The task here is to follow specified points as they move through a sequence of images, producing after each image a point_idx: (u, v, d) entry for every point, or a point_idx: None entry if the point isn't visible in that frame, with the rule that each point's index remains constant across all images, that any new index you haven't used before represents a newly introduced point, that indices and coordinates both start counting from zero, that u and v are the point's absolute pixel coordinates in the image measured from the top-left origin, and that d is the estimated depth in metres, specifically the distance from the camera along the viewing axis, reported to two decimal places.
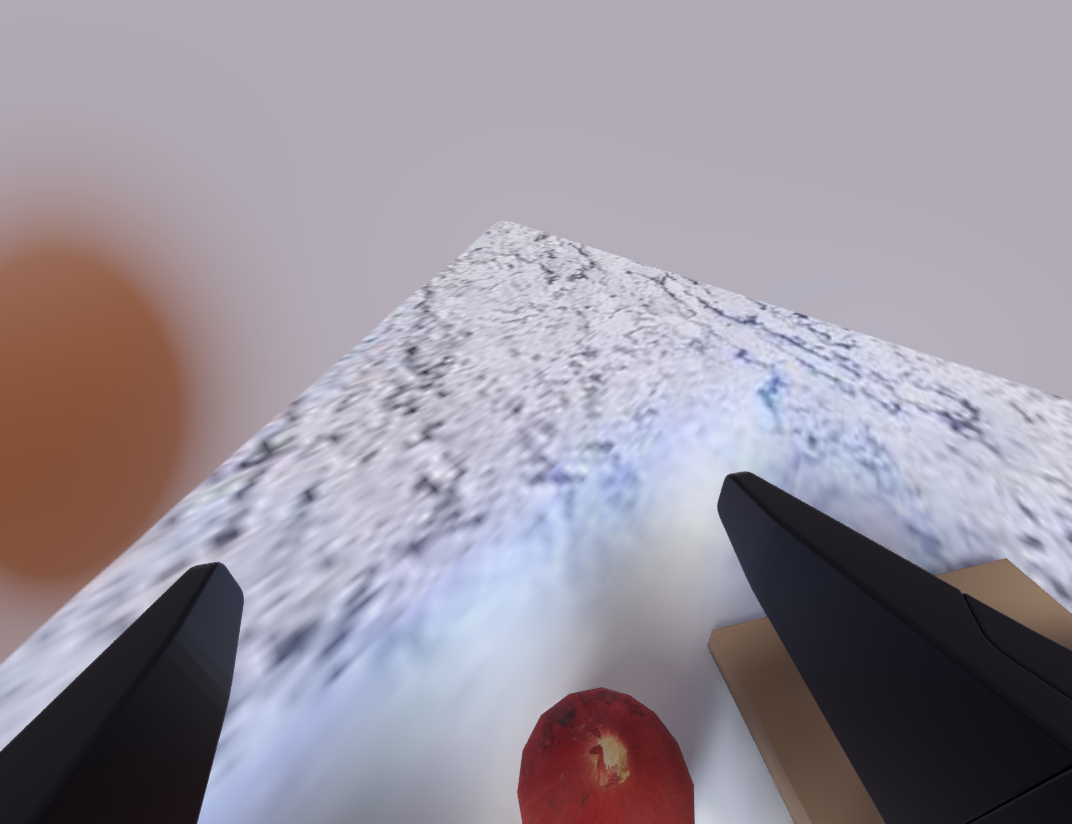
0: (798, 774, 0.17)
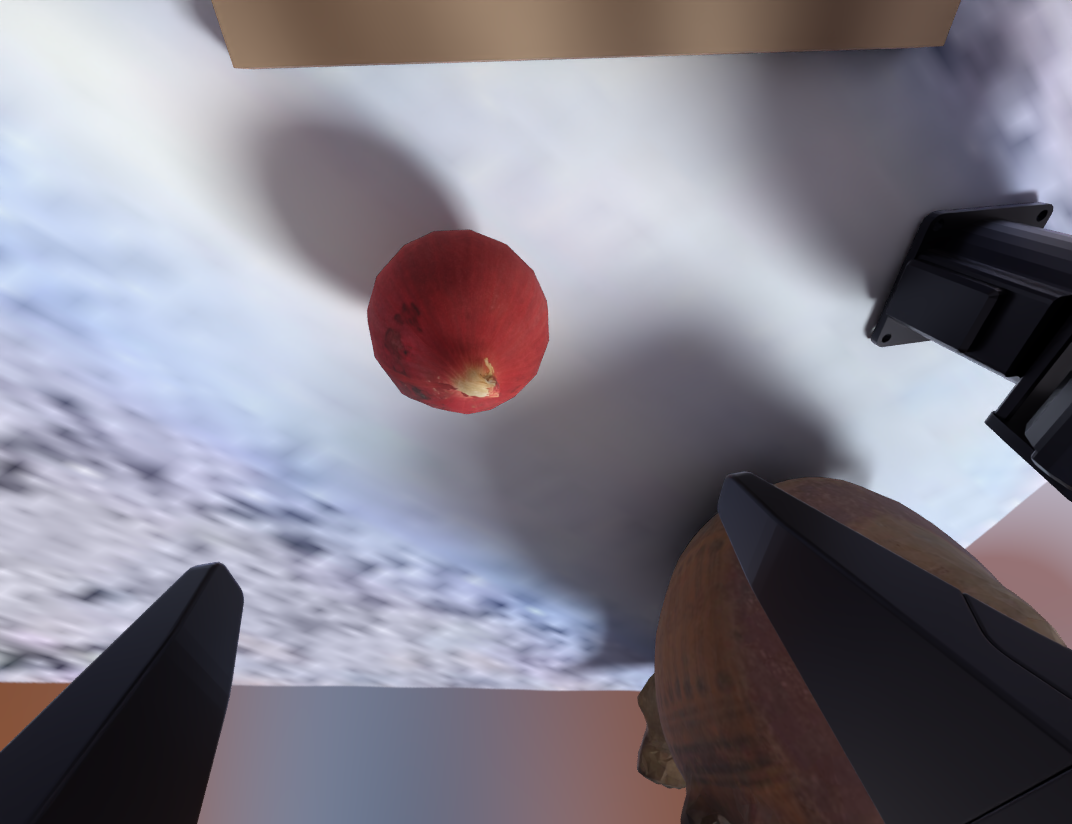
0: (446, 42, 0.13)
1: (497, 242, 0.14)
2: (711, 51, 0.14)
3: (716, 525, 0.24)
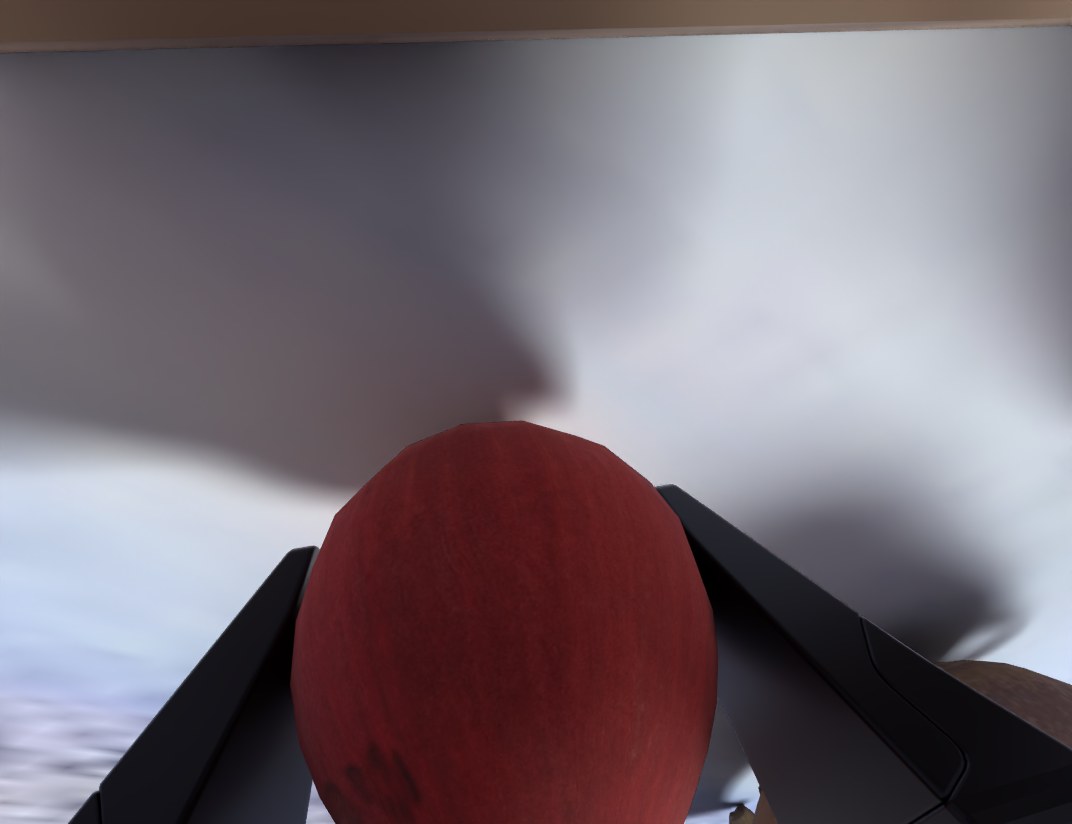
0: None
1: (609, 479, 0.06)
2: None
3: None
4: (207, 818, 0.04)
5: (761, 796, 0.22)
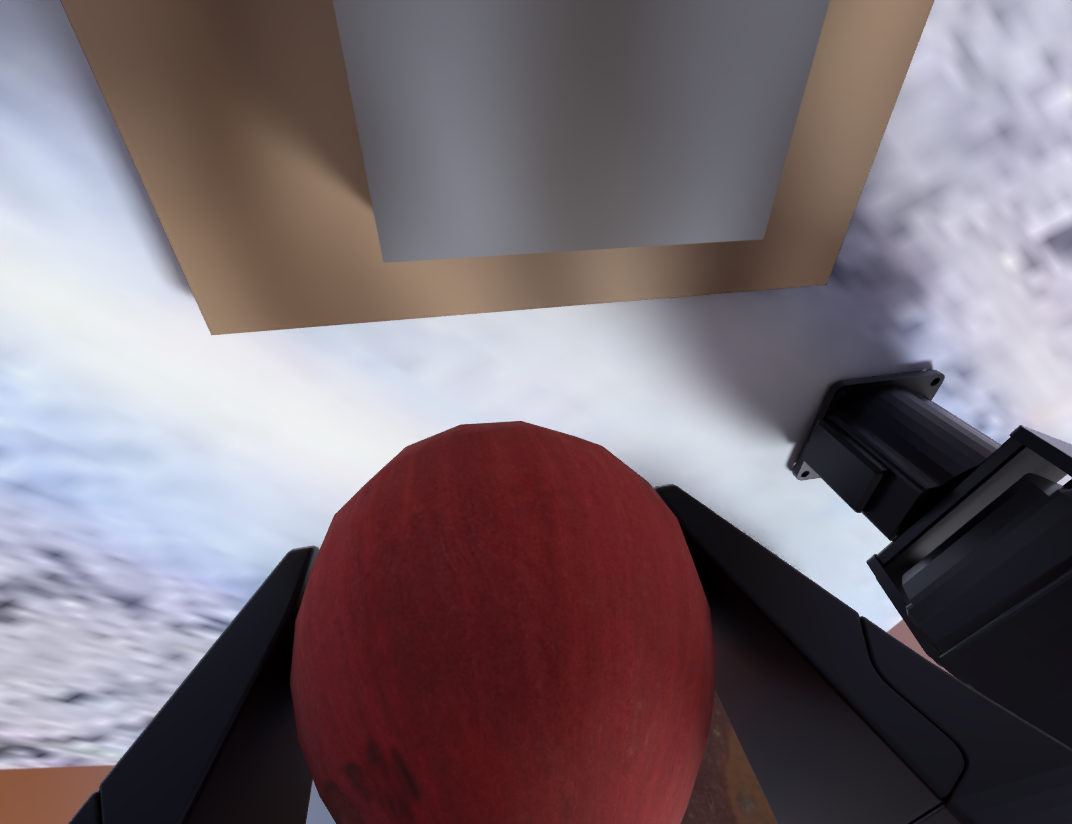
0: (395, 308, 0.15)
1: (607, 479, 0.06)
2: (624, 300, 0.17)
3: None
4: (207, 818, 0.04)
5: None
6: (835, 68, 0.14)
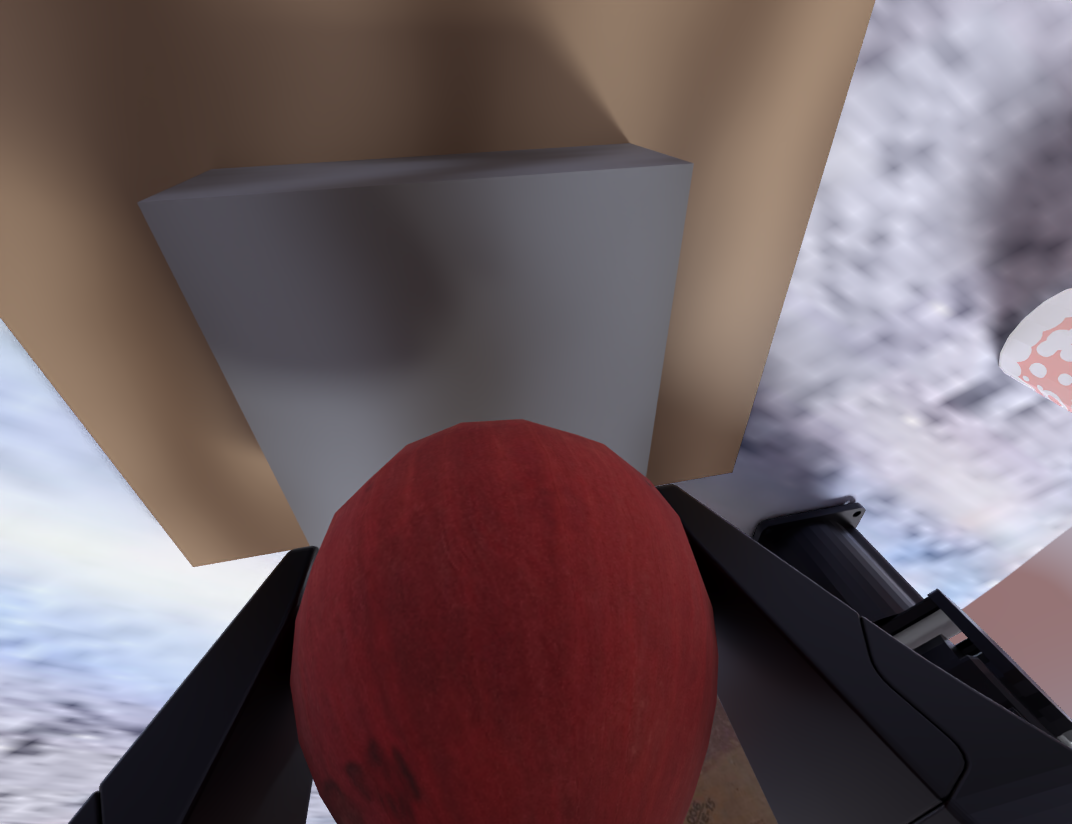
0: None
1: (609, 476, 0.06)
2: None
3: None
4: (207, 818, 0.04)
5: None
6: (707, 342, 0.16)
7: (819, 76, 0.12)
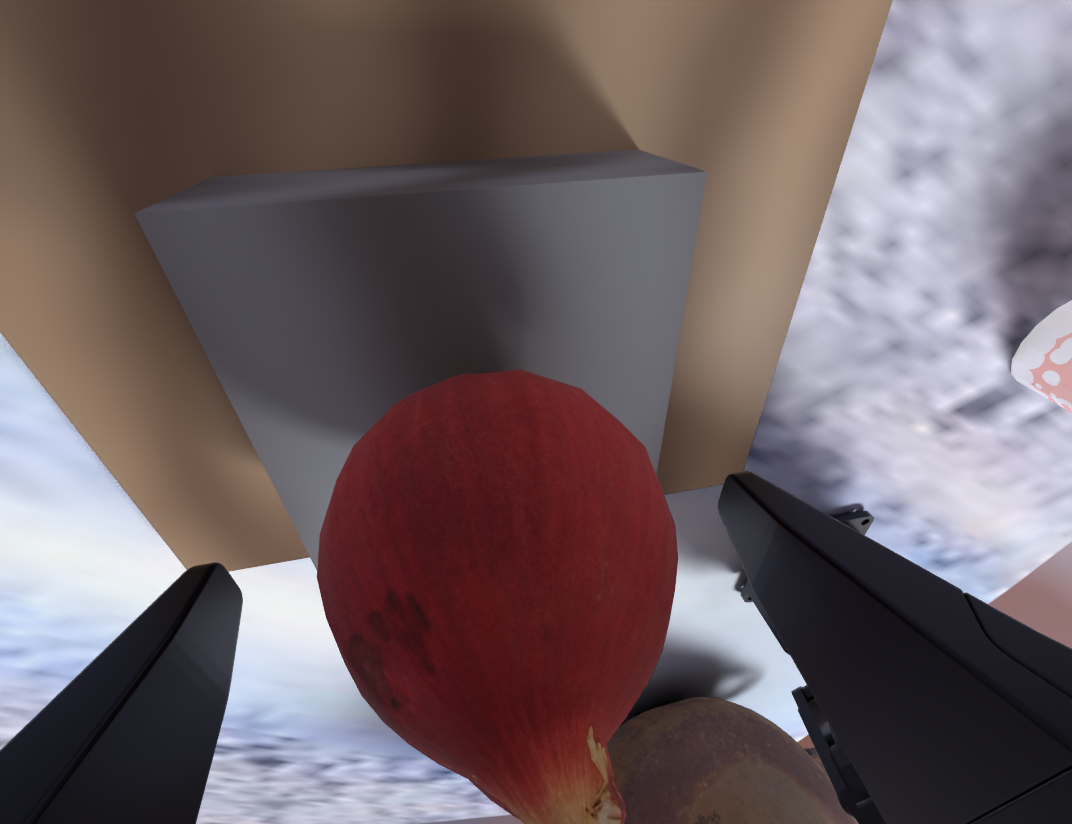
0: None
1: (583, 405, 0.07)
2: None
3: (614, 756, 0.30)
4: None
5: None
6: (716, 350, 0.16)
7: (833, 81, 0.12)
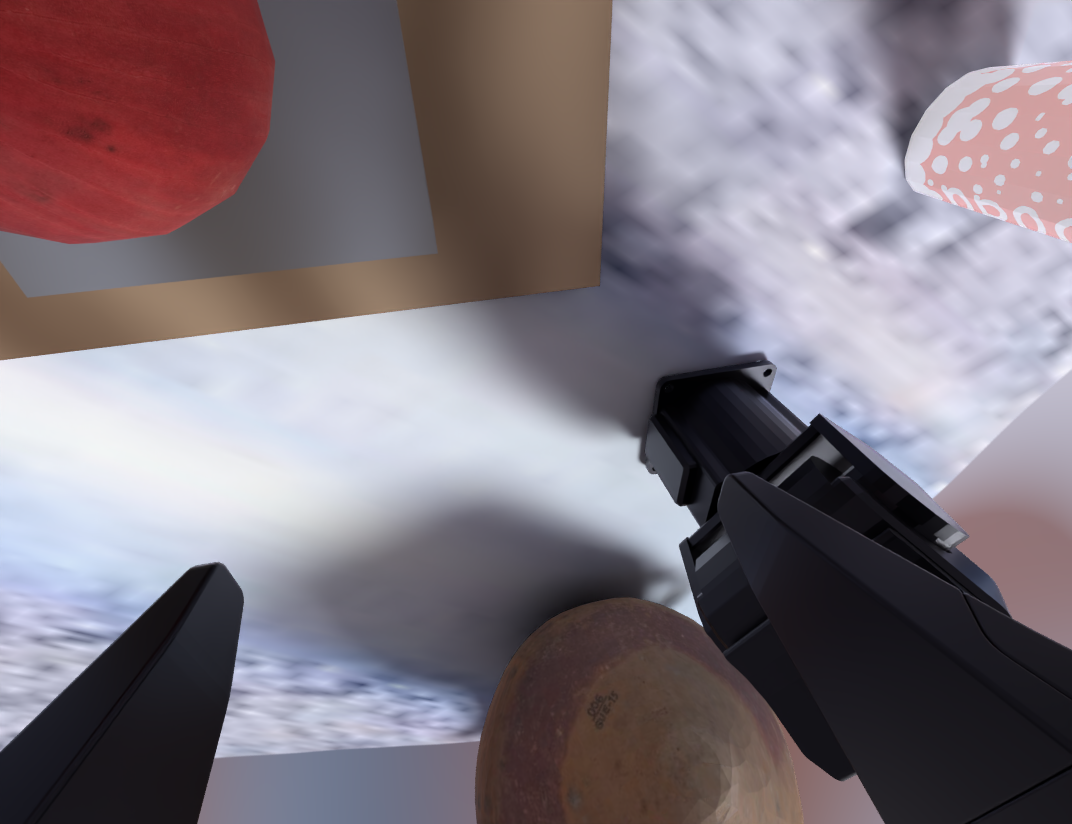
0: (137, 331, 0.16)
1: None
2: (383, 311, 0.17)
3: (521, 650, 0.29)
4: None
5: None
6: (527, 76, 0.14)
7: None
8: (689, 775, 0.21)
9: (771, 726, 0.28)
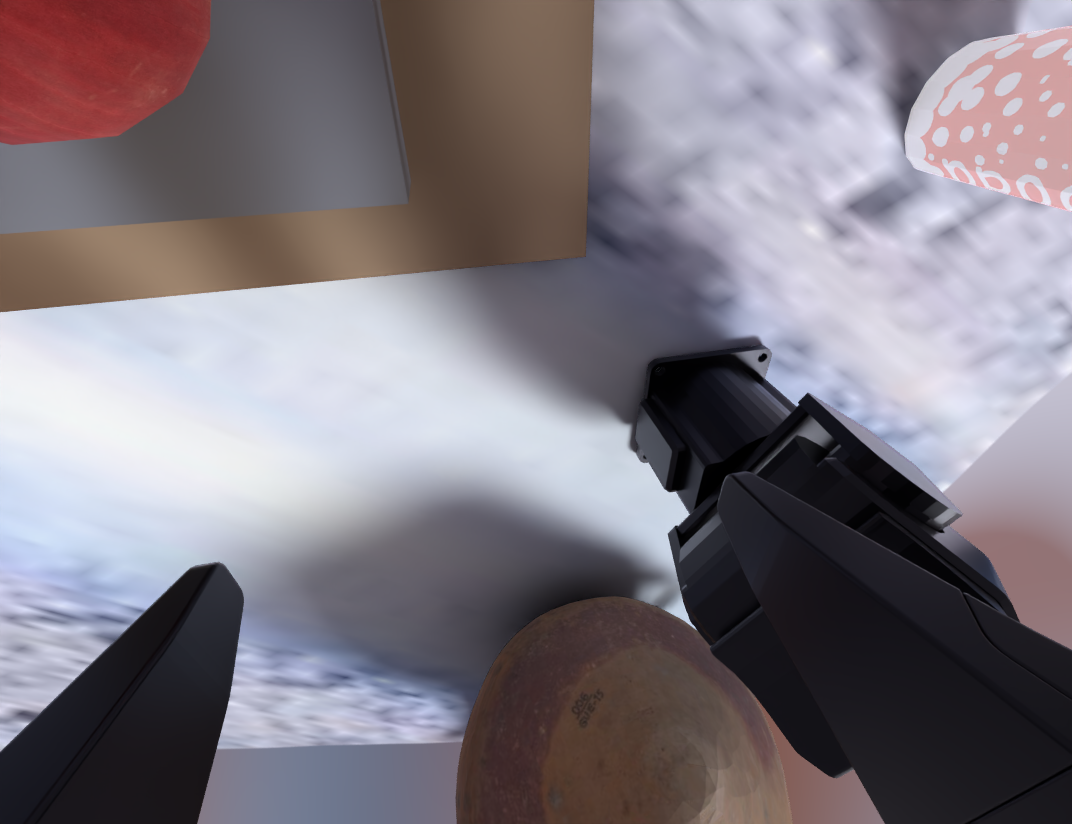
0: (104, 289, 0.15)
1: None
2: (360, 276, 0.17)
3: (507, 646, 0.28)
4: None
5: None
6: (507, 27, 0.13)
7: None
8: (673, 776, 0.21)
9: (761, 731, 0.27)
